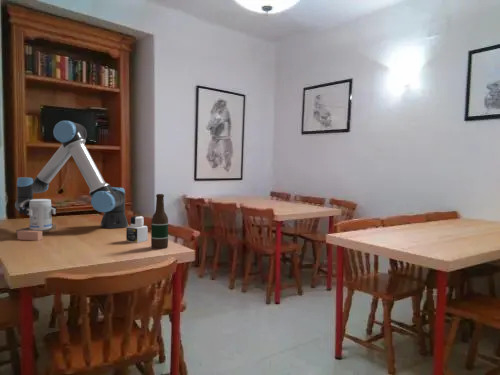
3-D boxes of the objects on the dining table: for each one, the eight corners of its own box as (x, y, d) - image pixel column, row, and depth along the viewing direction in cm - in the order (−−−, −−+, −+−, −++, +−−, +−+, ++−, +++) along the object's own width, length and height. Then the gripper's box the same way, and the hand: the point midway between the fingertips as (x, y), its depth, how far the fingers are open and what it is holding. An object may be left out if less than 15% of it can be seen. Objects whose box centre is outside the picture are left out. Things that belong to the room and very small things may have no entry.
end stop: (42, 239, 176) (42, 231, 176) (37, 240, 174) (37, 232, 173) (22, 238, 178) (22, 229, 178) (17, 239, 175) (17, 231, 175)
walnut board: (55, 229, 203) (55, 224, 203) (26, 236, 182) (26, 230, 182) (46, 229, 204) (46, 223, 204) (16, 235, 183) (16, 229, 183)
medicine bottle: (126, 241, 176) (126, 216, 175) (137, 238, 182) (137, 215, 182) (137, 243, 173) (137, 217, 172) (147, 240, 179) (147, 216, 178)
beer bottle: (164, 249, 160) (164, 195, 159) (147, 248, 162) (147, 194, 161) (171, 245, 168) (171, 193, 167) (155, 244, 170) (155, 193, 168)
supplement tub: (49, 226, 190) (49, 198, 189) (53, 229, 183) (53, 200, 182) (27, 228, 184) (27, 199, 183) (31, 231, 176) (31, 200, 176)
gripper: (52, 213, 203) (67, 217, 188) (5, 216, 187) (17, 221, 172) (52, 199, 203) (67, 203, 187) (5, 201, 187) (17, 205, 171)
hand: (43, 212), depth 180 cm, fingers closed on supplement tub, 9 cm apart
